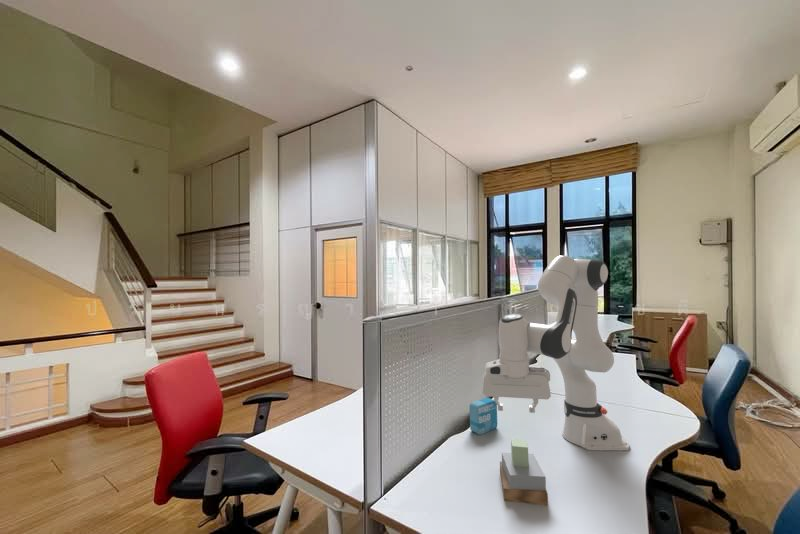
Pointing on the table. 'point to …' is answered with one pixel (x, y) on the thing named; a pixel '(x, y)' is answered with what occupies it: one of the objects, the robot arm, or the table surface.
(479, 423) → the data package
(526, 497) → the tower base
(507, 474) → the tower top
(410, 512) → the table surface
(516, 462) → the sage block
